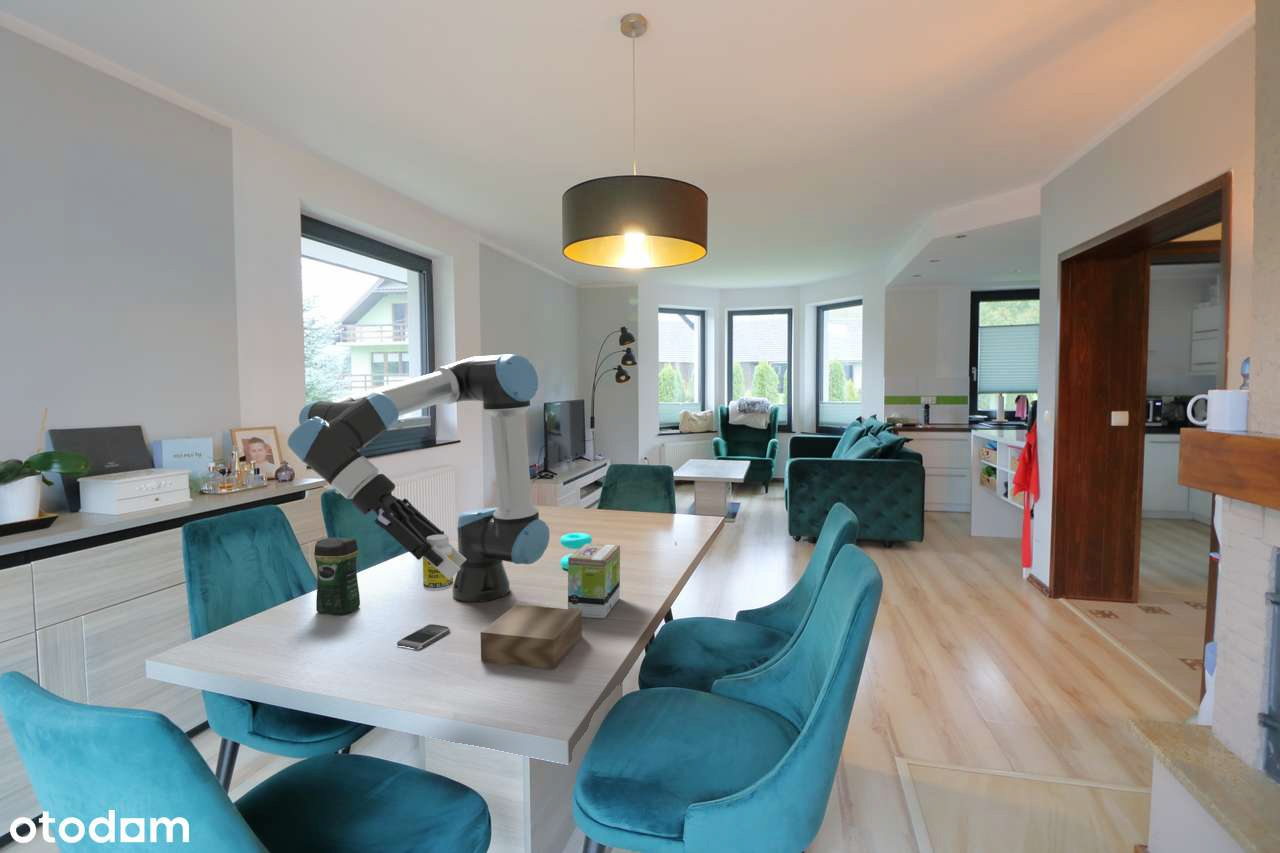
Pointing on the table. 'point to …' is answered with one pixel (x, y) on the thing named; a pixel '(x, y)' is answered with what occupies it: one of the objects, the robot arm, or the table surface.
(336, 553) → the coffee jar
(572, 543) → the donuts
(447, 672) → the table surface
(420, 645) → the cell phone
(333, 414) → the robot arm
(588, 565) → the tea box
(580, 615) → the walnut block
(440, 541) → the supplement bottle
